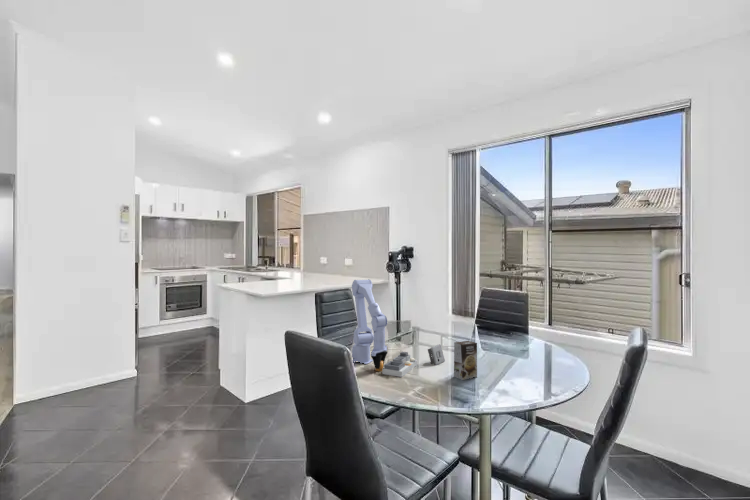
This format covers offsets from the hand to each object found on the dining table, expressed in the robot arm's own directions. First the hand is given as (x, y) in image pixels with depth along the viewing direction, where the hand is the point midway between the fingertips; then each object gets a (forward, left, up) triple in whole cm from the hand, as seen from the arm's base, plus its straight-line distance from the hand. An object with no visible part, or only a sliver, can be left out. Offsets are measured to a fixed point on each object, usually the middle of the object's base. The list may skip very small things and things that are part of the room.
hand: (379, 367), depth 182 cm
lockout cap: (0, 0, -1) cm, 1 cm away
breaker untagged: (+8, +14, +3) cm, 16 cm away
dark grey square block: (+8, +7, +1) cm, 11 cm away
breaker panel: (+9, +6, -1) cm, 11 cm away
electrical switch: (+22, +25, -2) cm, 33 cm away
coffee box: (+41, +8, -2) cm, 42 cm away
